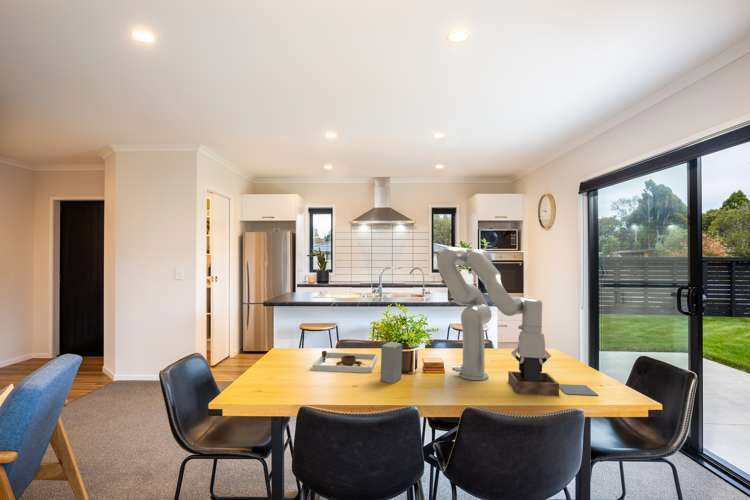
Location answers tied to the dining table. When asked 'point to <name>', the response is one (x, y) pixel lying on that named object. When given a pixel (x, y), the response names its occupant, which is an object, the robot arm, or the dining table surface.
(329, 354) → the serving tray rim
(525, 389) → the walnut crate
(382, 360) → the skincare box
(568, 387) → the mat
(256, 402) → the dining table surface
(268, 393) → the dining table surface
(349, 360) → the place setting
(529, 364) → the door stopper
